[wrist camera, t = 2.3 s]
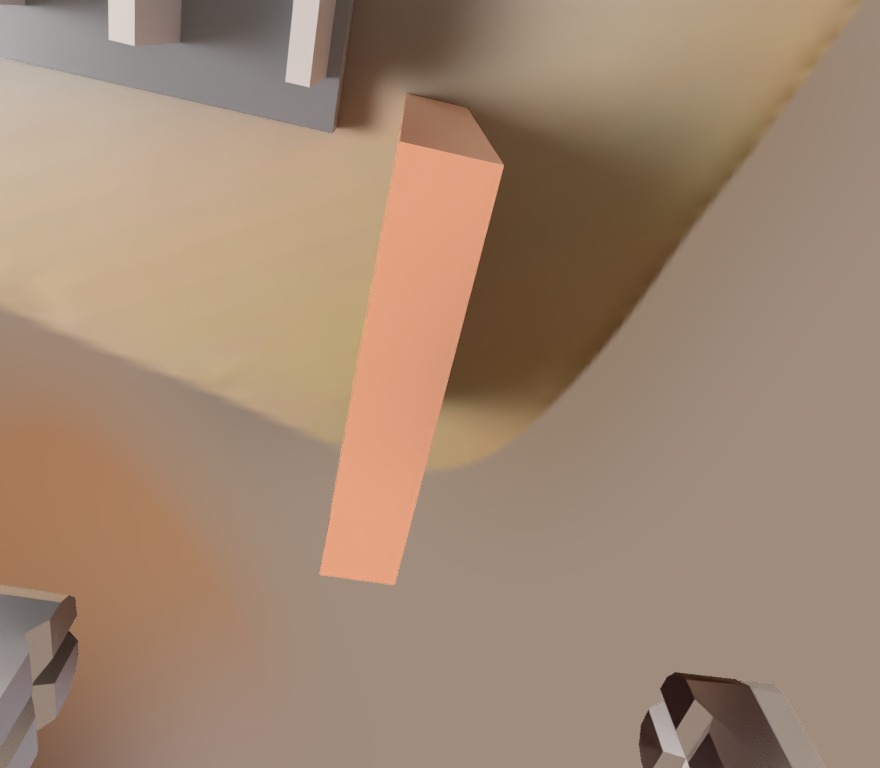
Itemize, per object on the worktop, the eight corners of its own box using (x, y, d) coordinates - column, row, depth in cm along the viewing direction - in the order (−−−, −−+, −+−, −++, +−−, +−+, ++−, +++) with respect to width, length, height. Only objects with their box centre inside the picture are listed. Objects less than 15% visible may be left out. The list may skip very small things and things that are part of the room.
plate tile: (406, 93, 21) (399, 141, 12) (467, 107, 21) (504, 165, 12) (351, 389, 26) (319, 574, 17) (401, 398, 26) (394, 585, 17)
